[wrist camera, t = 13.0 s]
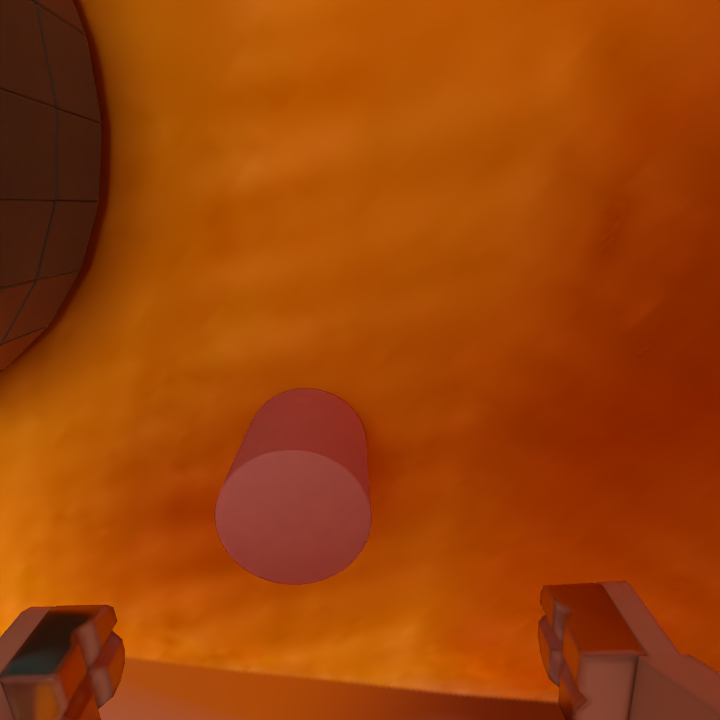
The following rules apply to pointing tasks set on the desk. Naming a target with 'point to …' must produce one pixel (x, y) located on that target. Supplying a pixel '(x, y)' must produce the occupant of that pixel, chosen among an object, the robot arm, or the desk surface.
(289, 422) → the pink marshmallow
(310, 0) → the desk surface
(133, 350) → the desk surface
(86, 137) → the bowl
